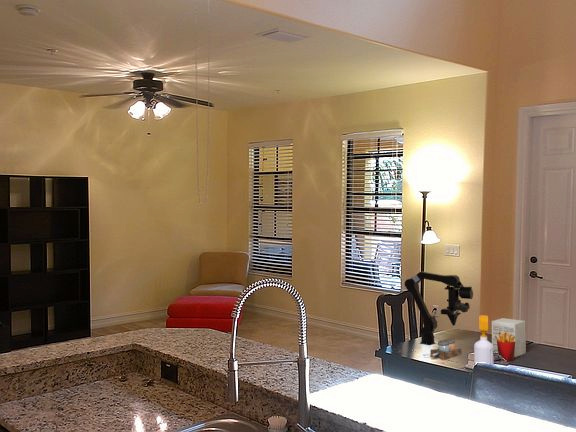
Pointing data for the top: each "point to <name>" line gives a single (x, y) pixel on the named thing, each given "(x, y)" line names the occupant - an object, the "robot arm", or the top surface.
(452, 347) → the terracotta jar
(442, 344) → the slate jar
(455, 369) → the top surface
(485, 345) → the soap bottle
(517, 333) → the supplement box
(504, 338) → the french fries
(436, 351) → the pusher
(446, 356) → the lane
